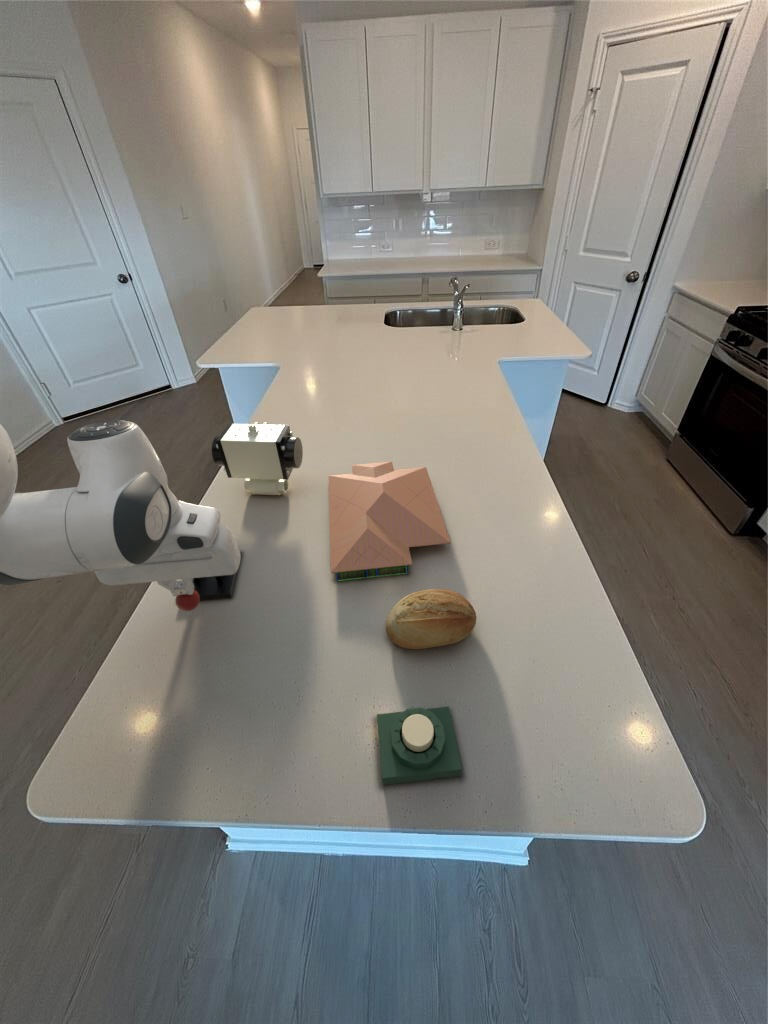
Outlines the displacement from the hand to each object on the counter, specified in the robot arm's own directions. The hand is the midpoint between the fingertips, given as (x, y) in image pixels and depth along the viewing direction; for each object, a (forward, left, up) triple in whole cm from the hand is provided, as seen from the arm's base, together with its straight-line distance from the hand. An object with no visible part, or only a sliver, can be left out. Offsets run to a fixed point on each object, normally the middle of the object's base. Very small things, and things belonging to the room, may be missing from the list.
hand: (184, 592), depth 70 cm
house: (+23, -34, -8) cm, 42 cm away
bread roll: (-6, -39, -8) cm, 40 cm away
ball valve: (+37, -8, -8) cm, 38 cm away
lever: (+6, 0, -1) cm, 6 cm away
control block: (-24, -34, -8) cm, 42 cm away
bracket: (+11, 0, -8) cm, 13 cm away
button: (-24, -34, -5) cm, 42 cm away
